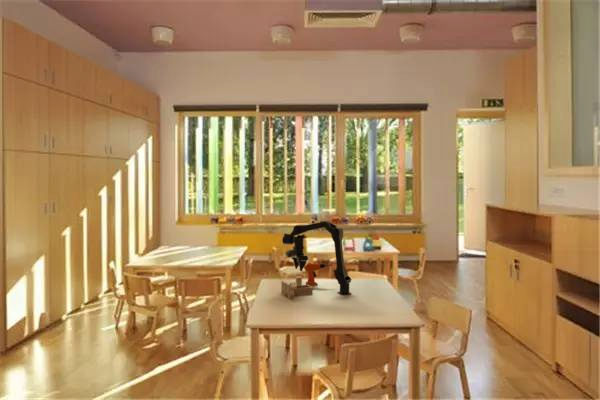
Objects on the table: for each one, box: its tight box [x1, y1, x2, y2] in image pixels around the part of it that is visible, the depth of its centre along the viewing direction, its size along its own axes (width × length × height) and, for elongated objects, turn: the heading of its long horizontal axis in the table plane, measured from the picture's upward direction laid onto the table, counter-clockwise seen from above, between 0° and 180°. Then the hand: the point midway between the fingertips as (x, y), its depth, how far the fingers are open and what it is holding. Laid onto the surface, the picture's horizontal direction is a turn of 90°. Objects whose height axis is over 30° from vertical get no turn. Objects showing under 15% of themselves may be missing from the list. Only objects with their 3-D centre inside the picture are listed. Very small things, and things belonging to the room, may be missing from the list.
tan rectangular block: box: [289, 281, 297, 289], centre depth 289 cm, size 4×3×3 cm
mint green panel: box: [295, 276, 303, 285], centre depth 311 cm, size 8×14×8 cm, turn 109°
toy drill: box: [304, 262, 333, 287], centre depth 324 cm, size 5×19×15 cm, turn 86°
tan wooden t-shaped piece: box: [281, 280, 314, 300], centre depth 295 cm, size 18×16×7 cm
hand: (298, 269), depth 312 cm, fingers open, 9 cm apart
